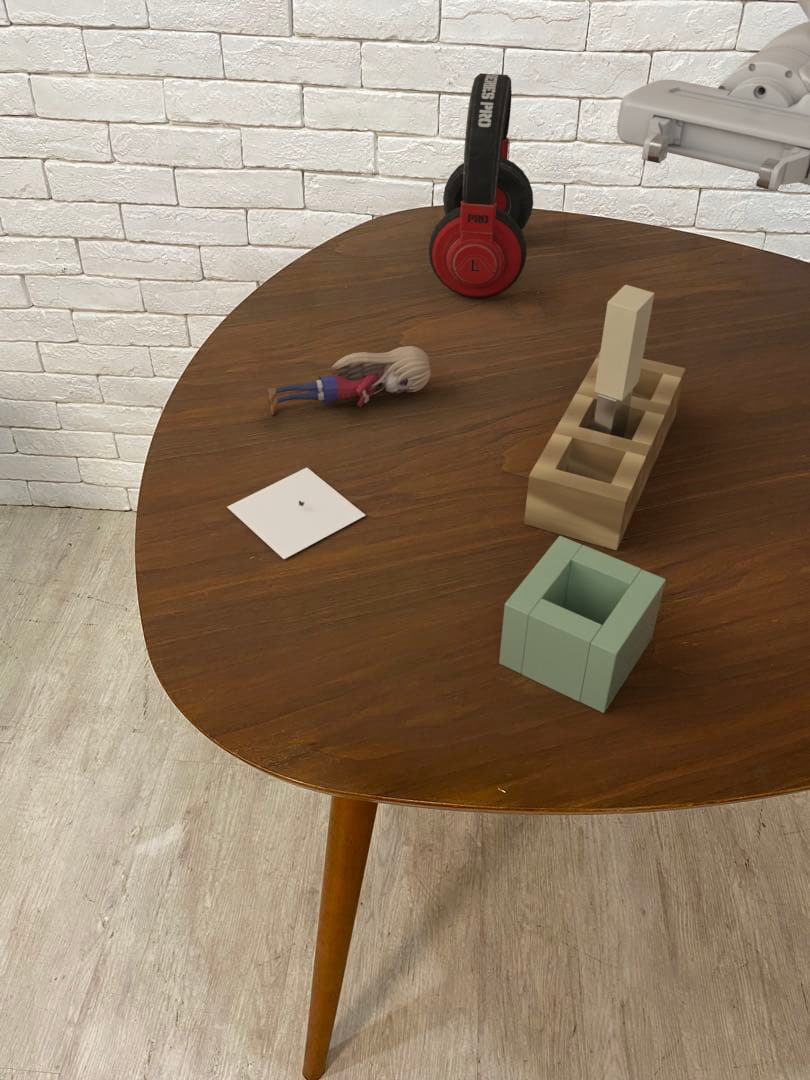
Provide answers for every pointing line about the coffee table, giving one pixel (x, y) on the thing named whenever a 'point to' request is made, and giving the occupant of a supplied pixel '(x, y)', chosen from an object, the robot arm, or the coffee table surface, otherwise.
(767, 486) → the coffee table surface
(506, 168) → the headphones
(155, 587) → the coffee table surface
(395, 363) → the figurine
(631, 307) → the knife
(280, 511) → the white flat sheet
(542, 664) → the holder
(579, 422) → the rack
